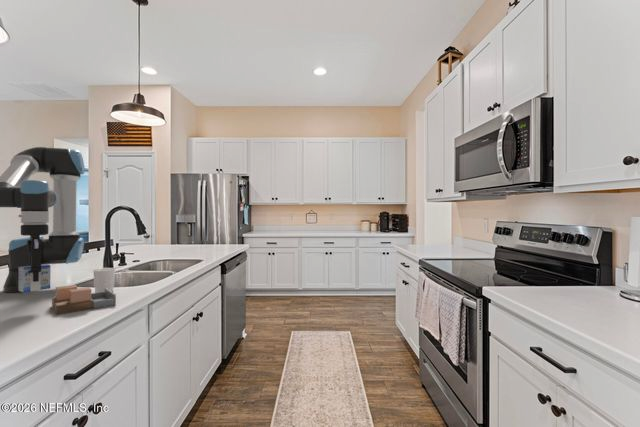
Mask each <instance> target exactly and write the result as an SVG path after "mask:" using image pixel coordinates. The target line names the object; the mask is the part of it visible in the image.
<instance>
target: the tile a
mask: <svg viewBox="0 0 640 427" xmlns="http://www.w3.org/2000/svg"><path fill="white" fill-rule="evenodd" d="M71 289H78V285H76V284H70V285H62V286H56V287H55V298H56V299H57V300H63V299H69V290H71Z"/></svg>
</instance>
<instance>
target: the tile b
mask: <svg viewBox="0 0 640 427" xmlns="http://www.w3.org/2000/svg"><path fill="white" fill-rule="evenodd" d="M91 294H92V288H91V287H90V286H88V287H79V288H78V287H77V289H71V290H69V301H70V303H76V302H83V301H89V300H91Z"/></svg>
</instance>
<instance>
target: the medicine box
mask: <svg viewBox="0 0 640 427" xmlns="http://www.w3.org/2000/svg"><path fill="white" fill-rule="evenodd" d="M51 268H52V267H51V264H42V265H41V271H40V272H41V290H40V291H42V290H48V289H51V272H52V271H51ZM18 269H19V287H18V291H21V292H20V293H29V292H30V273H28V271H31V266H23V267H18Z"/></svg>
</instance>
